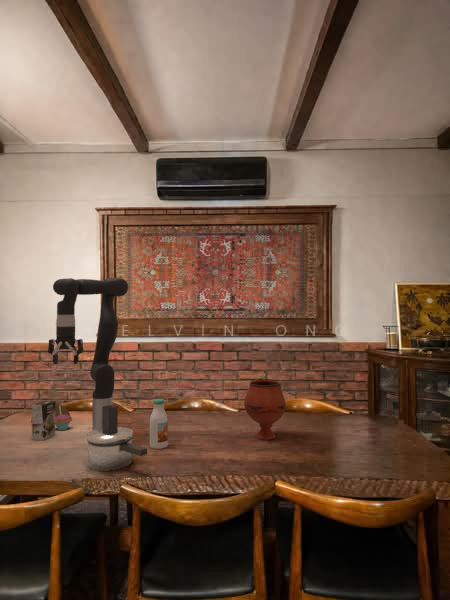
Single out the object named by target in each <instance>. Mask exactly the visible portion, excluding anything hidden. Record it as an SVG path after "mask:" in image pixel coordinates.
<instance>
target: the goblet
mask: <svg viewBox="0 0 450 600" xmlns="http://www.w3.org/2000/svg"><path fill="white" fill-rule="evenodd" d="M246 391H247V392H246V394H245V397H244V401H243V402H244V403H243V404H244V409H245V412H246V414H247V415H248V417H250V418H251V420H252V421H254V422H255V423H258V424H259V426H258V427H260V429H259V431H258V432H257V434H256V439H259V440H265V441H268V440H273V439H275V438H276V434H274V432H273V431H272V427H273V424H275V423H276V422H278V421H279V420H280V419H281V418H282V417H283V416H284V413H285V411H286V399H285V397H284V394H283V393H284V392H283V390H282V387H281V382H280V381H276V380H268V379H259V380H254V381H251V382H249V386H248V388H247V390H246Z"/></svg>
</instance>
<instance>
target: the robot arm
mask: <svg viewBox="0 0 450 600" xmlns="http://www.w3.org/2000/svg"><path fill="white" fill-rule="evenodd" d="M52 289H53V292H54V293H55V294H57V295H59V296H63V298H62V300H59V301H58V302H57V304H56V322H55V326H56V327H55V330H56V331H55V332H56V333H55V334H56V335H55V336H56V339H53V338H51V339H49V340H48V347H47V353H48V354H49V355H52V363H53V364H54V365H58V364H59V353H60V352H61V350H62V351H63V350H70V352H72V354H73V364H74V365H77V364H78V363H79V361H80V360H79V359H80V357H79V355H80V354H83V353H84V341H83V339H82V338H79V339H76V316H75V309H76V308H75V306H76V305H75V304H76V302H77V299H78V296H79V295H80V296H85V295H86V296H89V295H101V303H100V304H101V306H100V315H99V321H98V327H97V336H96V342H95V350H94V355H93V359H92V364H91V367H90V372H89V373H90V377H91V379H92V380H93V381H94V382H95V383H94V384H95V388H94V390H93V391H92V397H91V398H92V399H91V400H92V415H91V416H92V417H91V419H92V421H91V422H92V423H91V425H92V430H96V429H100V428H102V407H104V406H109V405H113V395H114V391H115V369H114V367H113V366H112V365H110V364H109V361H110V353H111V350H112V348H113V346H114V345H115V342H116V340H117V337H118V329H119V320H118V317H117V314H116V313H115V309H114V299H115V297H116V298H117V297H118V298H119V297H123V296H125V295H126V294H127V293H128V290H129V283H128V282H127V280H125V279H124V278H121V277H107V278H105V280H101V279H98V280H97V279H88V278H80V279H79V278H78V279H75V278H71V277H70V278H60V279H56V280H55V281H54V283H53V285H52ZM55 344H56V346H55ZM75 344H76V345H77V346H76V345H75ZM92 430H91V431H92Z"/></svg>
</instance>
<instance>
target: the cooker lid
mask: <svg viewBox="0 0 450 600" xmlns="http://www.w3.org/2000/svg"><path fill="white" fill-rule="evenodd" d="M118 408H119V406H117V405H114V404H112V405H109V406H104V407H102V428H100V429H96V430H90V431H88V432H87V433H86V440H87V442H88V441H89V442H92V443H98V444H109V443H117V442H122V441H125V440H128V439H130V438H131V437H132V438H133V433H134V432H133V429H131V428H130V427H124V426H118V425H119V424H118V418H119V417H118Z"/></svg>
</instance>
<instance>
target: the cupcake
mask: <svg viewBox="0 0 450 600" xmlns="http://www.w3.org/2000/svg"><path fill="white" fill-rule="evenodd" d="M59 410H60V415H58V416H56V417H55V428H56V429H57V430H58V431H65V430H68V428H69V425H70V423H71V422H72V420H73V419H72V416H71V415H70V416H69V415H65V414H63V415H61V407H60V405H59Z"/></svg>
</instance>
